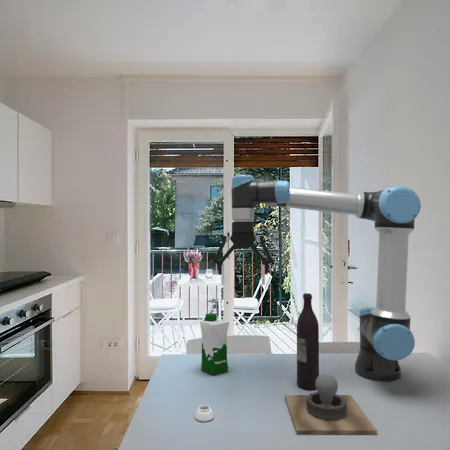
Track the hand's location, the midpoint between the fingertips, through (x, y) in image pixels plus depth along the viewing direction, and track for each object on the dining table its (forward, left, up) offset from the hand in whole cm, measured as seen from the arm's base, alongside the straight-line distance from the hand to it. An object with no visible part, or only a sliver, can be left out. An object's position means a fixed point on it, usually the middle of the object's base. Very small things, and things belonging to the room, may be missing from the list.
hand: (243, 284), depth 126 cm
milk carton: (+10, -10, -33) cm, 36 cm away
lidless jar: (+12, +24, -33) cm, 42 cm away
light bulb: (-22, +22, -32) cm, 45 cm away
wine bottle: (-21, +3, -33) cm, 39 cm away
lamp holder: (-22, +22, -33) cm, 45 cm away
